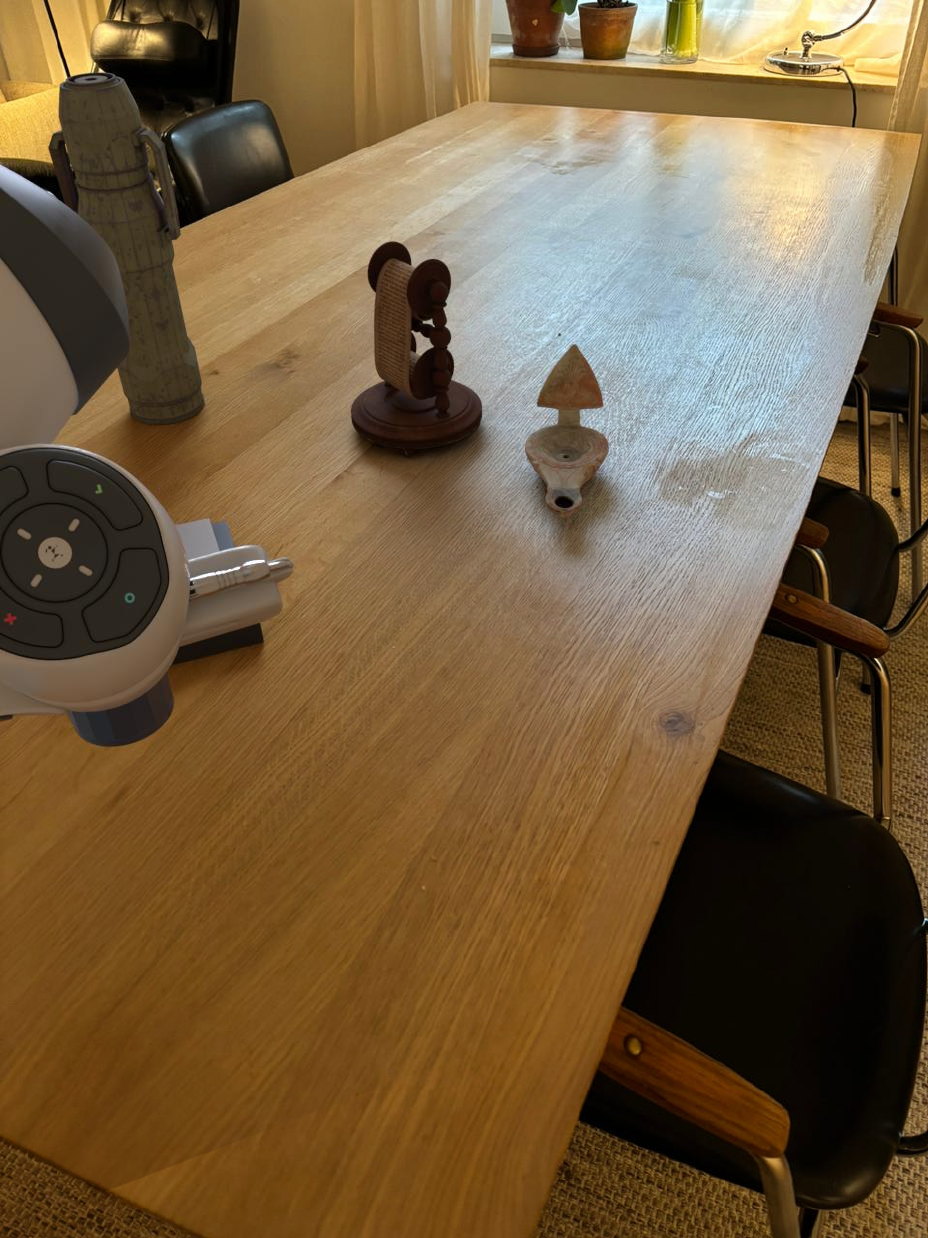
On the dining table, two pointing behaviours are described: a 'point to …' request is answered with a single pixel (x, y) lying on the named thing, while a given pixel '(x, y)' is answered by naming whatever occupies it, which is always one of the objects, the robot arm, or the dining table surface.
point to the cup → (127, 718)
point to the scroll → (412, 359)
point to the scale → (198, 543)
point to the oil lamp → (567, 433)
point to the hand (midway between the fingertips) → (102, 647)
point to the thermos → (130, 237)
